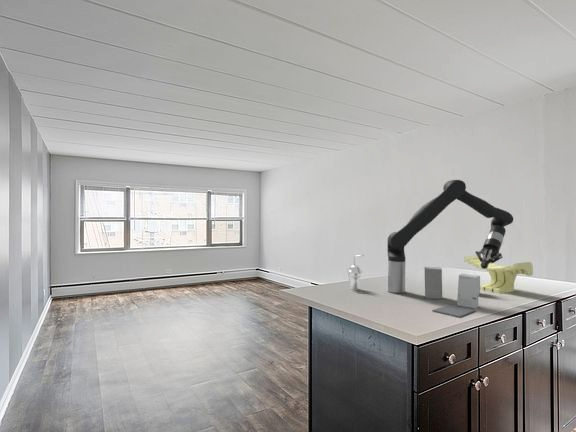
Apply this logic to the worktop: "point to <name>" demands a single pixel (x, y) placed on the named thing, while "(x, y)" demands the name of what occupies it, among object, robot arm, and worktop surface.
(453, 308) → the mat
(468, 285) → the skincare box
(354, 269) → the cup with straw
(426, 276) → the skincare box
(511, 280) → the slatted curved stool
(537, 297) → the worktop surface
